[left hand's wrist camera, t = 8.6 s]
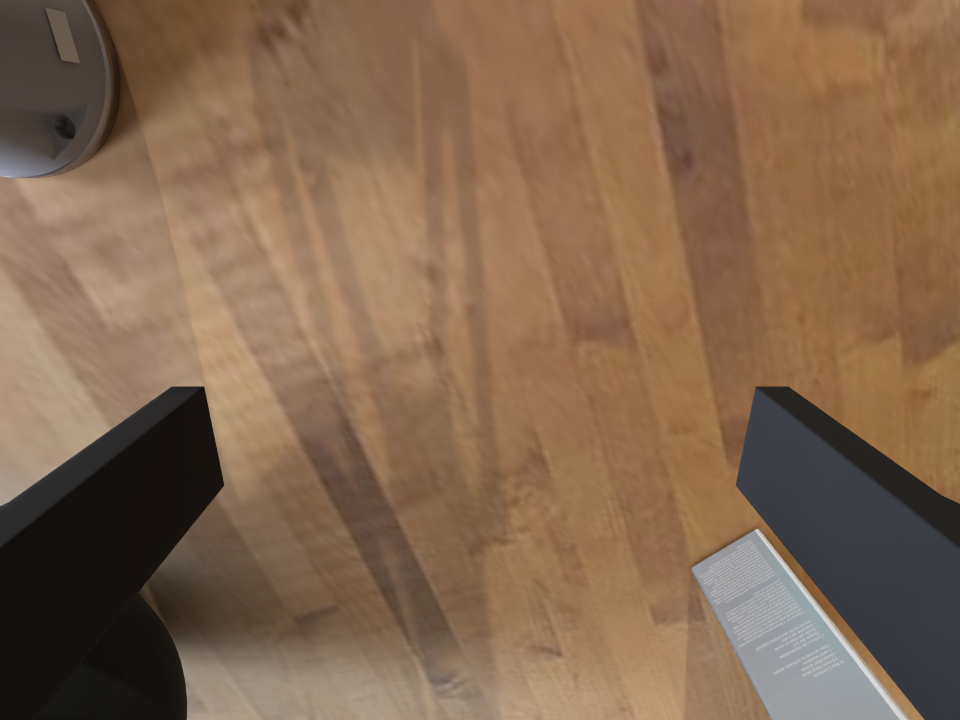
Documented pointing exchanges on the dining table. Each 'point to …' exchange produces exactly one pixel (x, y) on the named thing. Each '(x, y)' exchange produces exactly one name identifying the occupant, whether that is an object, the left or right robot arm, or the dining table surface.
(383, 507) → the dining table surface
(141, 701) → the sphere
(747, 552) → the hard drive box
